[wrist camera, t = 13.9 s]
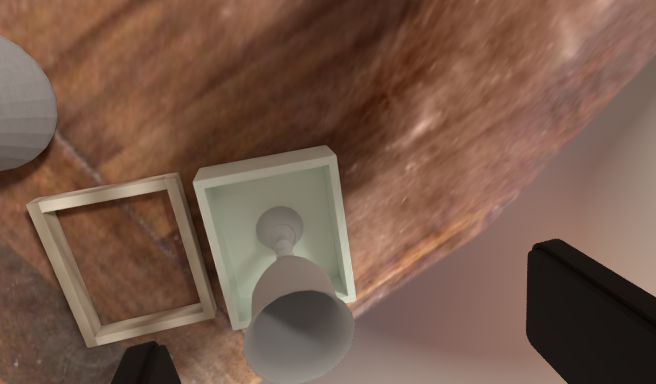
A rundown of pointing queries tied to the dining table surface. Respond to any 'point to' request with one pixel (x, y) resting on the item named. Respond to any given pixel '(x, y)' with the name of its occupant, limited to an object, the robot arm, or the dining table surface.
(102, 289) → the dining table surface
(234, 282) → the sage bin
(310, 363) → the chalice
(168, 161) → the dining table surface
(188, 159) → the dining table surface
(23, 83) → the coffee pot
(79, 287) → the ash frame
